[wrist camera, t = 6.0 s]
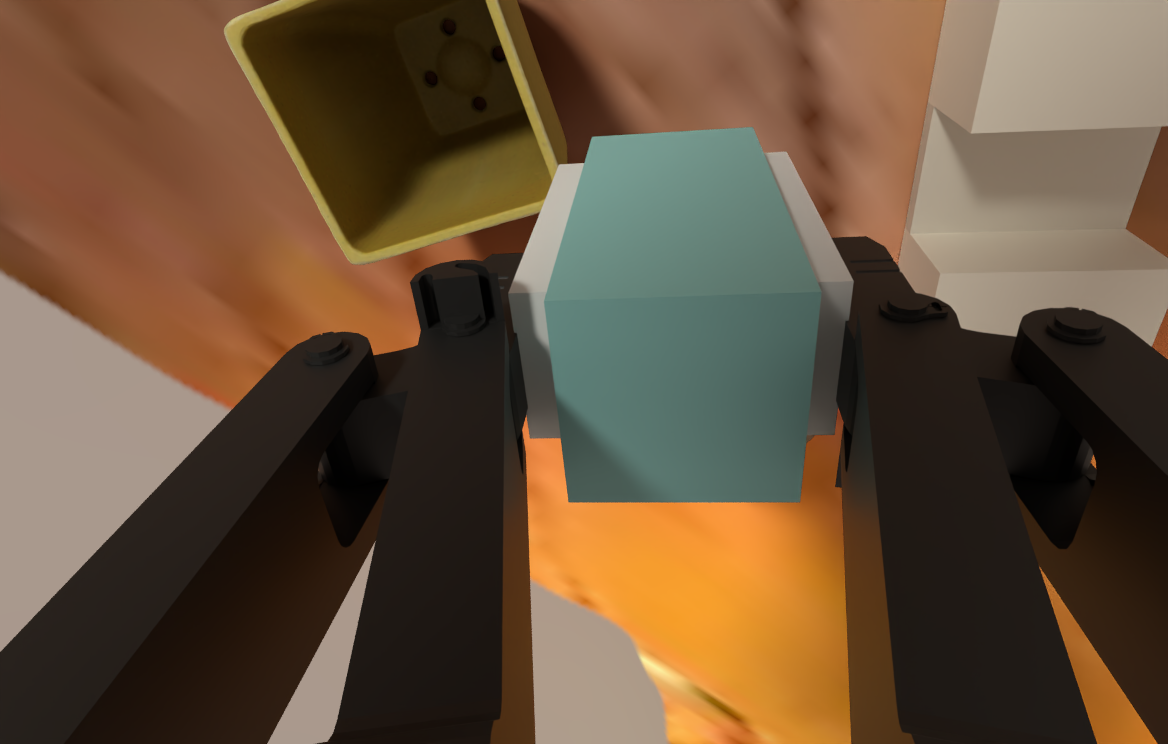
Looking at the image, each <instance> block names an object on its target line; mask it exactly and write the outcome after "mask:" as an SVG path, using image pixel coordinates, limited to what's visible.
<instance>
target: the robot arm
mask: <svg viewBox="0 0 1168 744" xmlns="http://www.w3.org/2000/svg"><path fill="white" fill-rule="evenodd" d="M764 155H765V158H766V160H767V162H768V165H769V167H770V170H771V172H772V174H773V177H774V179H775V182H776V184H777V186H778V189H779V191H780V193H781V196H782V198H783V201H784V203H785V205H786V208H787V210H788V213H789V215H790V217H791V220H792V222H793V225H794V227H795V229H796V232H797V234H798V237H799V239H800V241H801V244H802V246H803V249H804V251H805V253H806V256H807V258H808V261H809V263H810V265H811V268H812V270H813V273H814V275H815V277H816V280H817V282H818V285H819V287H820V289H821V302H820V312H819V322H818V331H817V341H816V351H815V361H814V370H813V380H812V390H811V400H810V409H809V419H808V429H807V435H834V434H835V426H836V418H837V410H838V408H839V410H840V413H841V416H842V419H843V422H844V425H843V432H842V440H841V448H840V455H839V463H838V470H837V478H836V485H835V487H841V488H842V509H843V535H844V561H845V588H846V614H847V640H848V667H849V693H850V719H851V744H1097V742H1096V739H1095V736H1094V733H1093V730H1092V727H1091V724H1090V721H1089V718H1088V715H1087V712H1086V708H1085V705H1084V702H1083V699H1082V696H1081V693H1080V690H1079V687H1078V684H1077V681H1076V678H1075V675H1074V672H1073V669H1072V666H1071V663H1070V660H1069V656H1068V653H1067V650H1066V647H1065V644H1064V641H1063V638H1062V635H1061V632H1060V629H1059V626H1058V623H1057V620H1056V617H1055V614H1054V611H1053V608H1052V605H1051V601H1050V598H1049V595H1048V592H1047V589H1046V586H1045V583H1044V580H1043V577H1042V574H1041V571H1040V568H1039V566H1040V567H1041V569H1042V570H1043V572H1044V573H1045V575H1046V576H1047V578H1048V579H1049V581H1050V582H1051V584H1052V585H1053V587H1054V588H1055V590H1056V591H1057V593H1058V594H1059V596H1060V597H1061V599H1062V600H1063V602H1064V603H1065V605H1066V606H1067V608H1068V609H1069V611H1070V612H1071V614H1072V615H1073V617H1074V618H1075V620H1076V621H1077V623H1078V624H1079V626H1080V627H1081V629H1082V630H1083V632H1084V633H1085V635H1086V636H1087V638H1088V639H1089V641H1090V642H1091V644H1092V645H1093V647H1094V648H1095V650H1096V651H1097V653H1098V654H1099V656H1100V657H1101V659H1102V660H1103V662H1104V663H1105V665H1106V666H1107V668H1108V669H1109V671H1110V672H1111V674H1112V675H1113V677H1114V678H1115V680H1116V681H1117V683H1118V684H1119V686H1120V687H1121V689H1122V690H1123V692H1124V693H1125V695H1126V696H1127V698H1128V699H1129V701H1130V702H1131V704H1132V705H1133V707H1134V708H1135V710H1136V711H1137V713H1138V714H1139V716H1140V717H1141V719H1142V720H1143V722H1144V723H1145V725H1146V726H1147V728H1148V729H1149V731H1150V732H1151V734H1152V736H1153V737H1154V739H1155V740H1156V742H1157V743H1158V744H1168V359H1166V358H1165V357H1164V356H1162V355H1161V354H1160V353H1159V352H1157V351H1156V350H1155V349H1154V348H1152V347H1151V346H1150V345H1149V344H1147V343H1146V342H1145V341H1144V340H1142V339H1141V338H1140V337H1138V336H1137V335H1136V334H1135V333H1133V332H1132V331H1131V330H1130V329H1128V328H1127V327H1125V326H1124V325H1122V324H1120V323H1118V322H1117V321H1115V320H1113V319H1111V318H1108V317H1105V316H1102V315H1099V314H1096V312H1094V311H1091V310H1086V309H1082V310H1079V308H1074V307H1065V308H1046V309H1040V310H1034V311H1032V312H1030V313H1028V314H1026V315H1024V316H1023V317H1022V320H1021V322H1020V325H1019V329H1018V332H1017V336H1008V335H1000V334H992V333H984V332H978V331H972V330H967V329H963V328H961V326H960V323H959V320H958V317H957V314H956V313H955V311H954V310H953V309H952V307H951V306H950V305H948V304H946V303H945V302H943V301H941V300H939V299H938V298H934V297H931V296H927V295H924V294H920V293H915V291H914V290H913V288H912V287H911V285H910V284H909V282H908V281H907V279H906V278H905V276H904V275H903V273H902V272H900V269H899V267H898V266H897V264H896V263H895V262H893V258H892V257H891V255H890V254H889V252H888V251H887V249H886V248H885V247H884V246H883V245H881V244H879V243H877V242H875V241H874V240H872V239H870V238H868V237H866V236H864V237H841V238H831V236H830V235H829V233H828V231H827V229H826V227H825V225H824V223H823V221H822V219H821V217H820V215H819V213H818V211H817V210H816V208H815V206H814V204H813V202H812V200H811V198H810V196H809V194H808V192H807V190H806V188H805V186H804V185H803V183H802V181H801V179H800V177H799V175H798V173H797V171H796V169H795V167H794V165H793V163H792V161H791V160H790V158H789V156H788V154H787V152H772V153H764ZM583 166H584V163H577V164H559V166H558V168H557V171H556V173H555V176H554V178H553V181H552V184H551V186H550V189H549V191H548V194H547V196H546V199H545V201H544V204H543V206H542V209H541V211H540V214H539V216H538V219H537V222H536V224H535V227H534V229H533V232H532V234H531V237H530V239H529V242H528V244H527V247H526V249H525V252H524V253H510V254H492V255H491V256H489V257H488V258H486V259H485V260H484V261H477V260H456V261H450V262H445V263H440V264H437V265H434V266H431V267H429V268H426V269H424V270H423V271H421V272H419V273H418V274H416V275H415V276H414V278H413V279H412V280H411V282H410V284H411V289H412V293H413V297H414V302H415V306H416V311H417V315H418V319H419V324H420V328H421V333H420V337H419V342H418V345H417V346H414V347H411V348H407V349H403V350H399V351H394V352H389V353H384V354H379V355H374V356H373V352H372V349H371V345H370V343H369V340H368V338H367V337H365V336H363V335H361V334H359V333H351V332H337V333H334V332H327V333H322V334H323V335H320V334H319V335H315V336H312V337H311V338H310V339H308V340H306V341H304V342H302V343H299V344H297V345H296V346H295V347H293V348H292V349H291V350H289V351H288V352H287V353H286V354H285V355H284V356H283V357H282V358H281V359H280V360H279V361H278V362H277V363H276V364H275V365H274V366H273V367H272V368H271V370H270V371H269V372H268V373H267V374H266V375H265V376H264V377H263V378H262V379H261V380H260V381H259V382H258V383H257V384H256V385H255V386H254V387H253V388H252V389H251V390H250V391H249V393H248V394H247V395H246V396H245V397H244V398H243V399H242V400H241V401H240V402H239V403H238V404H237V405H236V406H235V407H234V408H233V409H232V410H231V411H230V412H229V413H228V414H227V416H226V417H225V418H224V419H223V420H222V421H221V422H220V423H219V424H218V425H217V426H216V427H215V428H214V429H213V430H212V431H211V432H210V433H209V434H208V435H207V436H206V437H205V439H204V440H203V441H202V442H201V443H200V444H199V445H198V446H197V447H196V448H195V449H194V450H193V451H192V452H191V453H190V454H189V455H188V456H187V457H186V458H185V460H183V462H182V463H181V464H180V465H179V466H178V467H177V468H176V469H175V470H174V471H173V472H172V473H171V474H170V475H169V476H168V477H167V478H166V479H165V480H164V481H163V482H162V483H161V485H160V486H159V487H158V488H157V489H156V490H155V491H154V492H153V493H152V494H151V495H150V496H149V497H148V498H147V499H146V500H145V501H144V502H143V503H142V504H141V506H140V507H139V508H138V509H137V510H136V511H135V512H134V513H133V514H132V515H131V516H130V517H129V518H128V519H127V520H126V521H125V522H124V523H123V524H122V525H121V526H120V528H118V529H117V531H116V532H115V533H114V534H113V535H112V536H111V537H110V538H109V539H108V540H107V541H106V542H105V543H104V544H103V545H102V546H101V547H100V548H99V549H98V550H97V551H96V553H95V554H94V555H93V556H92V557H91V558H90V559H89V560H88V561H87V562H86V563H85V564H84V565H83V566H82V567H81V568H80V569H79V570H78V571H77V572H76V573H75V575H73V577H72V578H71V579H70V580H69V581H68V582H67V583H66V584H65V585H64V586H63V587H62V588H61V589H60V590H59V591H58V592H57V593H56V594H55V596H53V597H52V598H51V600H50V601H49V602H48V603H47V604H46V605H45V606H44V607H43V608H42V609H41V610H40V611H39V612H38V613H37V614H36V615H35V616H34V617H33V618H32V620H31V621H29V623H28V624H27V625H26V626H25V627H24V628H23V629H22V630H21V631H20V632H19V633H18V634H17V635H16V636H15V637H14V638H13V639H12V641H10V642H9V644H8V645H7V646H6V647H5V648H4V649H3V650H2V651H1V652H0V744H267V743H268V741H269V739H270V737H271V735H272V734H273V732H274V730H275V728H276V726H277V724H278V722H279V720H280V719H281V717H282V715H283V713H284V711H285V709H286V707H287V705H288V703H289V702H290V700H291V698H292V696H293V694H294V692H295V690H296V689H297V687H298V685H299V683H300V681H301V679H302V677H303V675H304V674H305V672H306V670H307V668H308V666H309V664H310V662H311V661H312V658H313V657H314V655H315V653H316V651H317V649H318V647H319V645H320V643H321V642H322V640H323V638H324V636H325V634H326V632H327V631H328V629H329V627H330V625H331V623H332V621H333V619H334V617H335V616H336V614H337V612H338V610H339V608H340V606H341V604H342V602H343V601H344V599H345V597H346V595H347V593H348V591H349V589H350V587H351V586H352V584H353V582H354V580H355V578H356V576H357V574H358V572H359V571H360V569H361V567H362V565H363V563H364V561H365V559H366V558H367V556H368V554H369V552H370V550H371V548H372V546H373V544H374V543H375V547H374V552H373V556H372V561H371V566H370V570H369V575H368V579H367V584H366V589H365V594H364V598H363V603H362V607H361V612H360V617H359V621H358V627H357V631H356V635H355V640H354V645H353V650H352V654H351V659H350V663H349V668H348V673H347V677H346V682H345V687H344V691H343V696H342V700H341V705H340V710H339V715H338V719H337V723H336V726H335V729H334V732H333V734H332V736H331V737H330V739H329V740H328V742H323V743H317V744H535V717H534V689H533V688H534V687H533V660H532V658H533V657H532V631H531V630H532V628H531V600H530V599H531V597H530V566H529V536H528V506H527V476H526V451H525V445H524V439H523V432H522V428H523V425H524V421H525V417H526V415H527V421H528V428H529V435H530V438H561V436H560V428H559V420H558V412H557V404H556V396H555V387H554V379H553V371H552V363H551V355H550V347H549V339H548V331H547V323H546V315H545V307H544V299H545V295H546V292H547V289H548V285H549V282H550V278H551V275H552V272H553V268H554V265H555V261H556V258H557V254H558V251H559V248H560V244H561V241H562V237H563V234H564V231H565V227H566V224H567V220H568V217H569V214H570V210H571V207H572V203H573V200H574V197H575V193H576V190H577V186H578V183H579V179H580V176H581V173H582V169H583ZM1093 454H1094V457H1095V460H1096V468H1095V467H1094V466H1093V465H1092V464H1091V463H1090V462H1091V460H1092V457H1093ZM1096 469H1097V470H1096ZM375 541H376V542H375ZM1038 564H1039V565H1038Z"/></svg>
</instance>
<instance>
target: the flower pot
mask: <svg viewBox="0 0 1168 744" xmlns="http://www.w3.org/2000/svg"><path fill="white" fill-rule="evenodd" d="M445 20H451V21H453V22H454V24H455V26H456V30H455V32H454V33H453V34H451V35H450V34H447V33H446V32H445V31H444V30H443V23H444V21H445ZM224 34H225V37H226V40H227V42H228V44H229V46H230V48H231V50H232V52H233V54H234V56H235V57H236V59H237V61H238V63H239V65H240V66H241V68H242V70H243V72H244V73H245V75H246V77H247V79H248V80H249V82H250V84H251V86H252V88H253V90H254V92H255V93H256V95H257V97H258V99H259V100H260V102H261V104H262V106H263V107H264V109H265V111H266V112H267V114H268V116H269V118H270V120H271V121H272V123H273V125H274V127H275V129H276V130H277V132H278V134H279V136H280V138H281V140H282V142H283V144H284V145H285V147H286V149H287V151H288V153H289V154H290V156H291V158H292V160H293V162H294V163H295V165H296V167H297V169H298V171H299V173H300V175H301V177H302V179H303V180H304V182H305V184H306V186H307V187H308V189H309V191H310V193H311V195H312V196H313V198H314V200H315V202H316V204H317V206H318V208H319V210H320V212H321V214H322V216H323V218H324V219H325V221H326V223H327V225H328V226H329V228H330V230H331V232H332V234H333V236H334V238H335V239H336V241H337V243H338V245H339V246H340V248H341V249H342V251H343V252H344V254H345V256H346V257H347V259H348V260H349V262H350V263H352V264H354V265H365V264H369V263H374V262H377V261H380V260H383V259H387V258H390V257H393V256H397V255H400V254H403V253H407V252H410V251H413V250H416V249H419V248H422V247H426V246H429V245H432V244H435V243H439V242H442V241H446V240H449V239H453V238H456V237H459V236H462V235H465V234H468V233H472V232H475V231H478V230H482V229H485V228H489V227H493V226H496V225H499V224H502V223H505V222H509V221H513V220H517V219H520V218H524V217H527V216H531V215H534V214H537V213H540V211H541V209H542V206H543V204H544V201H545V199H546V196H547V194H548V191H549V189H550V186H551V184H552V181H553V178H554V176H555V173H556V171H557V168H558V166H559V164H567V144H566V139H565V136H564V133H563V130H562V127H561V124H560V121H559V119H558V116H557V113H556V110H555V108H554V105H553V102H552V99H551V96H550V94H549V91H548V88H547V85H546V83H545V80H544V77H543V74H542V72H541V69H540V66H539V63H538V60H537V57H536V54H535V52H534V49H533V46H532V43H531V40H530V37H529V34H528V31H527V28H526V25H525V22H524V19H523V16H522V14H521V11H520V8H519V5H518V2H517V0H280V1H277V2H275V3H272V4H269V5H267V6H264V7H262V8H259V9H256V10H254V11H251V12H248V13H246V14H243V15H240V16H238V17H236V18H234V19H232V20H231V21H230V22H229V23H228V24H227V25H226V26H225V28H224ZM497 46H499V47H502V48H503V50H504V53H505V58H504V59H503V60H501V61H498V60H496V59H495V58H494V57H493V54H492V51H493V49H494V48H495V47H497ZM427 72H433V73H435V74H436V75H437V78H438V81H437V83H436V84H435V85H430V84H428V83H427V82H426V80H425V75H426V73H427ZM476 97H481V98H483V99H484V100H485V102H486V107H485V108H484V109H483V110H477V109H476V108H475V107H474V104H473V101H474V99H475V98H476Z"/></svg>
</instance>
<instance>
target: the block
mask: <svg viewBox="0 0 1168 744" xmlns="http://www.w3.org/2000/svg"><path fill="white" fill-rule="evenodd" d="M820 302H821V289H820V287H819V285H818V282H817V280H816V277H815V275H814V273H813V270H812V268H811V265H810V263H809V261H808V258H807V256H806V253H805V251H804V249H803V246H802V244H801V241H800V239H799V237H798V234H797V232H796V229H795V227H794V225H793V222H792V220H791V217H790V215H789V213H788V210H787V208H786V205H785V203H784V201H783V198H782V196H781V193H780V191H779V189H778V186H777V184H776V182H775V179H774V177H773V174H772V172H771V170H770V167H769V165H768V162H767V160H766V158H765V155H764V153H763V150H762V148H761V146H760V143H759V141H758V138H757V136H756V134H755V131H754V129H753V127H747V128H730V129H713V130H697V131H680V132H663V133H647V134H630V135H613V136H597V137H592V139H591V142H590V145H589V149H588V152H587V156H586V159H585V162H584V166H583V169H582V173H581V176H580V179H579V183H578V186H577V190H576V193H575V197H574V200H573V203H572V207H571V210H570V214H569V217H568V220H567V224H566V227H565V231H564V234H563V237H562V241H561V244H560V248H559V251H558V254H557V258H556V261H555V265H554V268H553V272H552V275H551V278H550V282H549V285H548V289H547V292H546V295H545V299H544V307H545V315H546V323H547V331H548V339H549V347H550V355H551V363H552V371H553V379H554V387H555V396H556V404H557V412H558V420H559V428H560V436H561V444H562V452H563V460H564V468H565V476H566V484H567V493H568V501H569V502H800V497H801V488H802V478H803V468H804V458H805V448H806V439H807V429H808V419H809V409H810V400H811V390H812V380H813V370H814V361H815V351H816V341H817V331H818V322H819V312H820Z"/></svg>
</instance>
